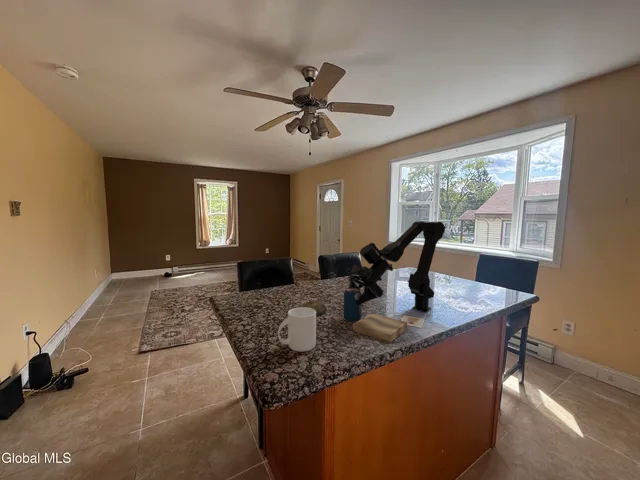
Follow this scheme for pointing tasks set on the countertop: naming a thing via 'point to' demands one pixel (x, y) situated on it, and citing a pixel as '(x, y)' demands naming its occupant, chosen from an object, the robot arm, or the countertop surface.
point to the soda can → (352, 305)
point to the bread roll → (315, 307)
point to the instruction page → (413, 321)
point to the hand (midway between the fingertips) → (351, 301)
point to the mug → (300, 329)
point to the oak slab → (380, 327)
